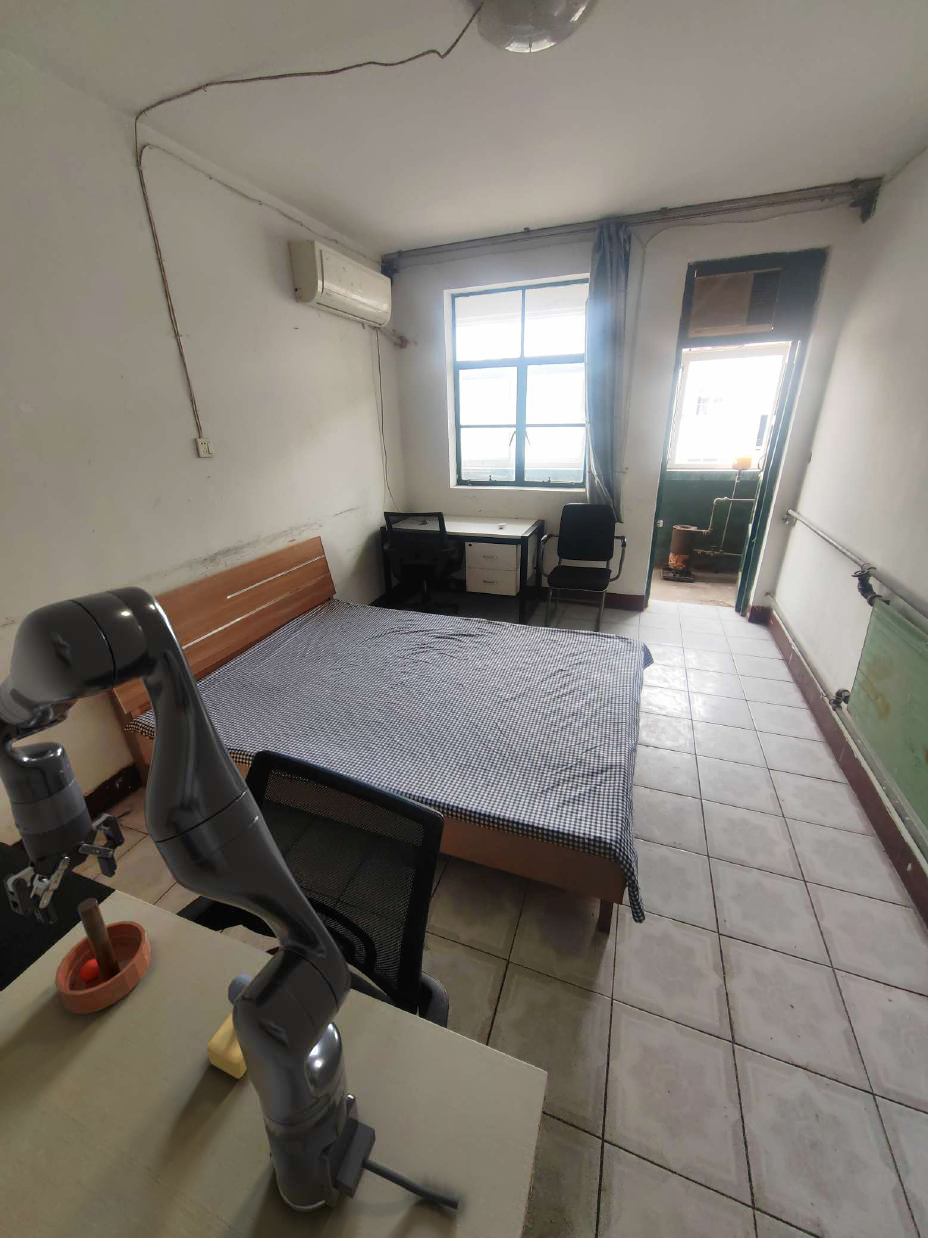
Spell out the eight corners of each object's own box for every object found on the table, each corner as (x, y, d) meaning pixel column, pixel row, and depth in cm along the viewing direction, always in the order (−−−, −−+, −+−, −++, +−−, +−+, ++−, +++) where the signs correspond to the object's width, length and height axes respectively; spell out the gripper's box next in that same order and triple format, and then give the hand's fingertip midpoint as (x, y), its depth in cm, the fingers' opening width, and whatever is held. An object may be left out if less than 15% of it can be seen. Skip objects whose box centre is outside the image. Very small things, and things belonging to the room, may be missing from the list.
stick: (124, 970, 79) (100, 899, 74) (110, 984, 77) (85, 913, 72) (113, 966, 80) (88, 896, 74) (99, 980, 77) (73, 909, 72)
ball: (111, 961, 79) (99, 966, 77) (99, 981, 78) (86, 987, 76) (96, 953, 80) (84, 958, 77) (84, 973, 79) (71, 979, 76)
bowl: (168, 954, 82) (162, 933, 81) (98, 1028, 72) (89, 1007, 70) (119, 932, 86) (112, 912, 84) (46, 1000, 75) (36, 978, 74)
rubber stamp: (240, 1081, 66) (226, 1025, 62) (209, 1063, 68) (194, 1008, 64) (288, 1007, 74) (279, 954, 70) (259, 993, 76) (249, 940, 72)
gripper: (9, 857, 60) (46, 947, 65) (119, 787, 73) (142, 867, 78) (-27, 842, 62) (12, 930, 68) (85, 777, 75) (110, 855, 80)
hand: (81, 896), depth 73 cm, fingers open, 8 cm apart
